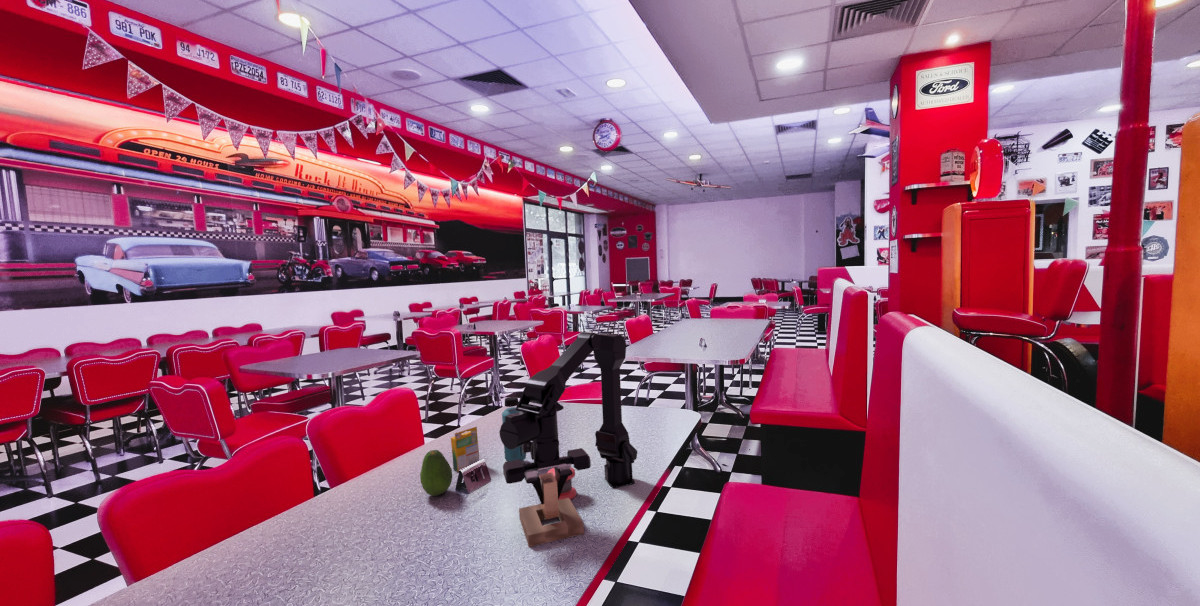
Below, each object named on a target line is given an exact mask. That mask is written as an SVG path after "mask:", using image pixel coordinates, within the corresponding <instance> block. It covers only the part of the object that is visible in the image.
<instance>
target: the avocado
mask: <svg viewBox="0 0 1200 606" xmlns="http://www.w3.org/2000/svg"><path fill="white" fill-rule="evenodd" d="M419 476H420V477H419V478H420V479H419V480H420V484H421V486H422V489H423V491H424V492H425V493H426V494H427V495H429V496H432V497H436V496H440V495H442V494H444V493H446V491H448V490H449V488H450V486H451V484H452V480H453V470H452V467H451V465H450V463H449V462H448V460H447V459H446V457H445V456H444V454H443V453H442V452H441V451H440V450H438V449H431V450H429V451H428V452H426V453H425V455H424V457H423V459H422V463H421V470H420V474H419Z"/></svg>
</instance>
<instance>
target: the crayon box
mask: <svg viewBox="0 0 1200 606" xmlns="http://www.w3.org/2000/svg"><path fill="white" fill-rule="evenodd" d="M478 439H479V438H478V427H477V426H474V427H470V428H468V429H465V430H464V429H463V430H461V431H458V432H455V433H454V436H453V437H450V443H451V446H450V447H451V454H452V466H453V467H452V468H453V470H454V471H455V472H458V471H459V470H460V469H462V468H464V467H467V466H469V465H471V464H473V463H475V462H477V461H479V460H480V451H479V440H478ZM458 473H459V472H458Z"/></svg>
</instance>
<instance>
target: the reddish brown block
mask: <svg viewBox="0 0 1200 606" xmlns="http://www.w3.org/2000/svg"><path fill="white" fill-rule="evenodd" d="M538 476H539V478H540V481H541V487H542V493H543V504H541V503H540V504H541V510H542V512H543V514H544V517H545V519H544V520H550V519H553V518H559V506H558V490H557V481H556V479H555V477H554V475H553V473H552V472H551V473H547V472H546V473H542V474H538Z"/></svg>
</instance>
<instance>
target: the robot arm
mask: <svg viewBox="0 0 1200 606" xmlns="http://www.w3.org/2000/svg"><path fill="white" fill-rule="evenodd" d="M592 353H593V356H594V360H595V361H596V363H597V365H598V366H599V369H600V381H601V382H600V383H601V384H600V385H601V407H602V408H601V409H602V424H601V426H600V428H599V429H598V430H596V431H595V434H594V435H595V447H596V448H597V451H598V452H599V455H600V458H601V459H604V460H605V464H604V468H603V469H604V480H605V481H606V482H607V483H608V484H609V486H610V487H611V488H613V489H614V488H619V487H625V486H629V485H634V484H636V480H635V479H634V478H633V464H634V463H635V461H636V460H637V458H638V450H637V449H636V448H635V447H634V446H633V445H632V444H631V443H630V437H629V432H628V430H627V428H626V426H625V425H624V423H623V419H622V418H623V417H622V415H623V414H622V392H621V391H622V390H621V366H622V365H623V363H624V361H625V359H626V355H627V354H626V353H627V341H626V339H625V338H624V336H623V335H621V334H608V333H596V332H592V331H591V332H587V331H582V332H581V333H580V332H579V333H578V334H577V336H576V338H575V340H574V341H573V342H572V343H571V344H570V345H569V346H568V347H567V348H566V349H565V350H564V351H563V352H562V353H561V355H560V356H559V357H558V358H557V359H556V360H555V361H554V362H553V363H552V364H551V365H550V366H549V367H547V368H545V369H542V370H540V371H537V372H536V373H535V374H533V375H532V376H531V377H529V378H528V379H527V380H526V382H525V384H524V389H523V391H522V394H521V395H520V398H519V399H518V405H517V406H515V407H516V411H520V412H518V413H515V414H510V415H507V416H505V422H504V423H503V422H502V424H501V425H500V429H499V437H500V440H501V443H502V444H503V447H504V446H505V447H506V448H508V449H515V448H517V447H519V446H522V452H523V453H530V458H531V460H532V461H533V462H527V463H523V461H521V459H518V460H513V461H505V462H504V463H503V464H502V472H503V473H502V474H503V476H504V479H505V482H506V483H505V484H508V485H509V484H510V485H511V484H515V483H516V484H517V483H520V482H523V480H525V482H526V484H528V485H529V484H531V485H532V486H533V488H534V490H535V492H536V494H537V496H538V499H539V502H540V504H543V493H542V487H541V481H540V478H539V474H538V473H539V472H540V471H544V470H545V471H546V470H550V469H552V468H554V469H555V479H556V481H557V490H558V500H559V497H560V494H561V492H562V489H563V486H564V484H565V482H566V480H567V478H568V476H570V475H572V474H573V472H572V471H571V469H570V467H571V468H572V465H573V469H575V470H577V471H582V470H588V469H591V467H592V465H591V456H590V455H589V454H588V453H587V452H586V450H585V449H584V448H582V447H581V448H580V447H579V448H574V449H569V450H567V453H566V455H565V456H560V440H559V429H558V427H559V426H558V424H559V423H558V412H560V411H562V410H564V408H565V407H564V406H563V405H562V404H560V403H559V401H560V399H561V397H562V395H563V394H564V392H565V391H566V384H567V381H568V380H569V378H570V377H571V376H572V375H574V373H575V372H576V371H577V369H579V367H580V366H581V365H582V364H583V363H584V362H585V360H586V359H587V358H588V357H589V356H590V355H591V354H592ZM531 403H532V404H531ZM534 404H537V405H534ZM539 405H540V406H539Z"/></svg>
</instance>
